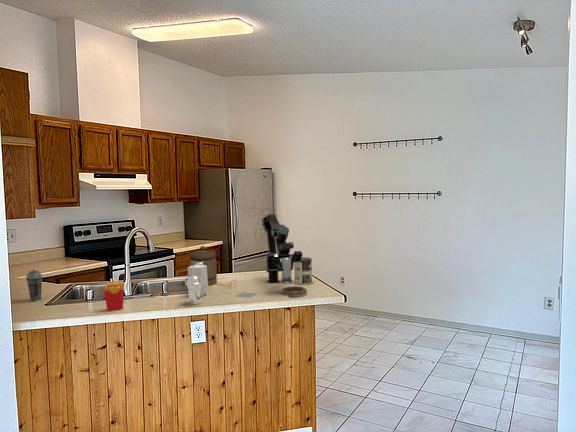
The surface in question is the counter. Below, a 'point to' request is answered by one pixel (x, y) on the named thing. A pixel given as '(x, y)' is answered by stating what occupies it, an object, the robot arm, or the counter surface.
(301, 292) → the brown shallow round dish
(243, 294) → the stand
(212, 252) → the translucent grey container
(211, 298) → the counter surface
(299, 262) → the coffee can
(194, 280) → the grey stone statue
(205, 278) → the skincare box
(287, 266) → the sleeve
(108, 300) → the french fries
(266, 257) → the robot arm
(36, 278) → the beverage cup
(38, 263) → the counter surface
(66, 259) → the counter surface
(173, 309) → the counter surface
